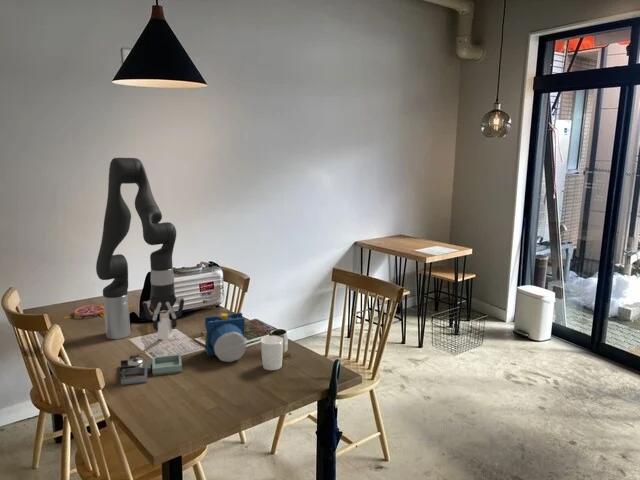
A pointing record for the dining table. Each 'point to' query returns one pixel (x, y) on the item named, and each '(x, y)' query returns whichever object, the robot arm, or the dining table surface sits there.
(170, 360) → the tray
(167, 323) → the pepper shaker
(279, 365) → the white cup
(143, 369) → the grey caddy
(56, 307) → the dining table surface
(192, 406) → the dining table surface
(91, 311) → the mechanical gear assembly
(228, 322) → the blue boxy device
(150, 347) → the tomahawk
